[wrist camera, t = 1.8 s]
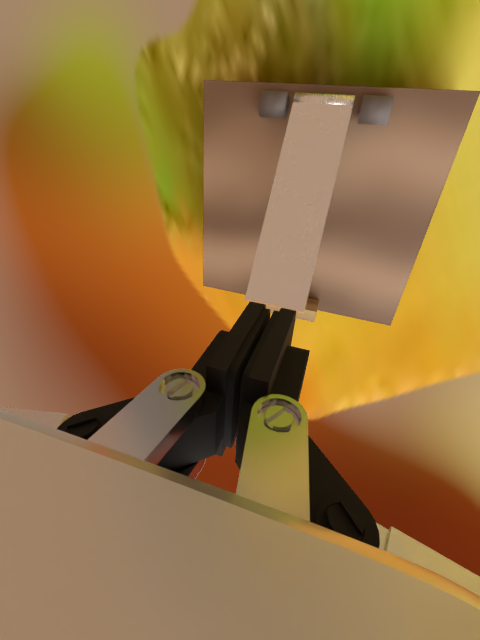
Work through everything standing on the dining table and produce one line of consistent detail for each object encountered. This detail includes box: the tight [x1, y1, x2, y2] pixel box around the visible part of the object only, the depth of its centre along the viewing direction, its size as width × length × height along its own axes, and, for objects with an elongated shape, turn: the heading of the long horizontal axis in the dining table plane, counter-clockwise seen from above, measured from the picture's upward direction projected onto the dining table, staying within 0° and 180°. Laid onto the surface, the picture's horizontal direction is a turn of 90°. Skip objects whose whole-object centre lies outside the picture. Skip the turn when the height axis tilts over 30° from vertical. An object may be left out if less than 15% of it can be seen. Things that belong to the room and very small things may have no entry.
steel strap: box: [245, 92, 355, 313], centre depth 16 cm, size 11×3×1 cm
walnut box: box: [203, 80, 480, 325], centre depth 21 cm, size 13×14×7 cm
